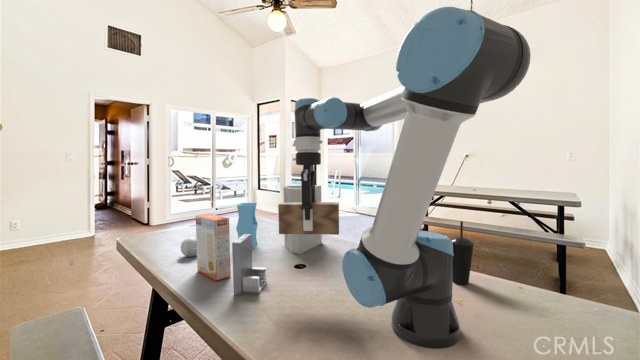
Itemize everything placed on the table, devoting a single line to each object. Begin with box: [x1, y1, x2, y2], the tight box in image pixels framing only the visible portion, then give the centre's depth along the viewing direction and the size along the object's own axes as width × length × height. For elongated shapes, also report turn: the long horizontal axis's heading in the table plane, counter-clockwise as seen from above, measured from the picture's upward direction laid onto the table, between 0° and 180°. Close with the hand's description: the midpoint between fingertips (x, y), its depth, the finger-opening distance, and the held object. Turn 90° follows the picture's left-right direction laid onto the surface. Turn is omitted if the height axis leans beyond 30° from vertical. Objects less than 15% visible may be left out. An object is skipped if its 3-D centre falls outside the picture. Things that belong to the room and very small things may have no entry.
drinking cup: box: [449, 220, 476, 286], centre depth 94 cm, size 8×8×20 cm
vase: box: [236, 202, 258, 249], centre depth 137 cm, size 8×8×20 cm
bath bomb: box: [180, 237, 197, 258], centre depth 124 cm, size 8×8×8 cm
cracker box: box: [195, 213, 232, 282], centre depth 103 cm, size 14×6×21 cm, turn 47°
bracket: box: [231, 234, 268, 296], centre depth 91 cm, size 10×7×16 cm
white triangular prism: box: [282, 184, 323, 255], centre depth 136 cm, size 19×15×28 cm
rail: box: [277, 201, 340, 236], centre depth 89 cm, size 18×4×9 cm, turn 85°
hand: (309, 228), depth 89 cm, fingers closed on rail, 5 cm apart
